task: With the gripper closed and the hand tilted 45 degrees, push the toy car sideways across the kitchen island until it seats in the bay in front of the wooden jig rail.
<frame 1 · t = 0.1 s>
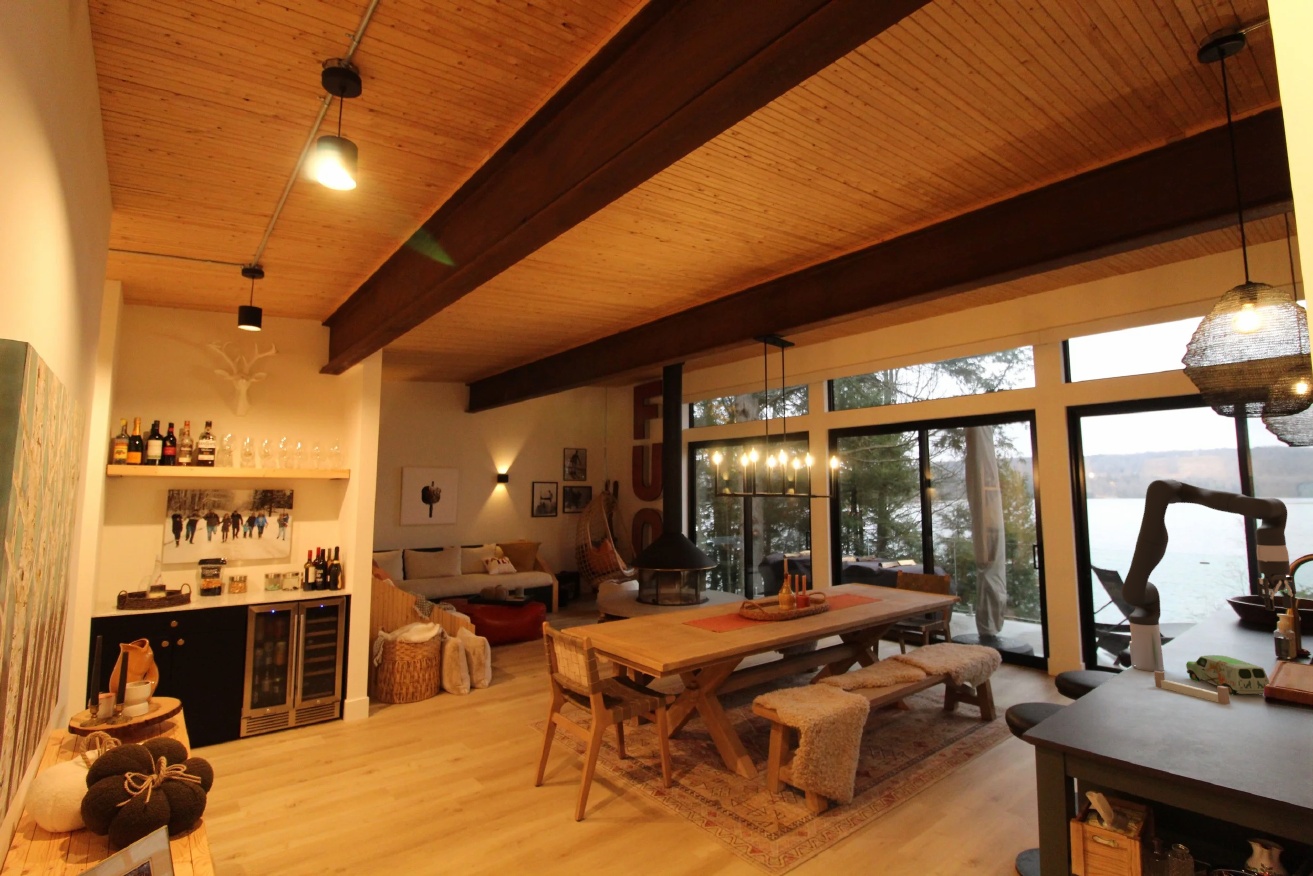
hand: (1279, 609, 209), 29 cm above the kitchen island, tool pointing down, fingers open, 8 cm apart
toy car: (1227, 688, 223), on the kitchen island
jig rail: (1191, 694, 217), on the kitchen island
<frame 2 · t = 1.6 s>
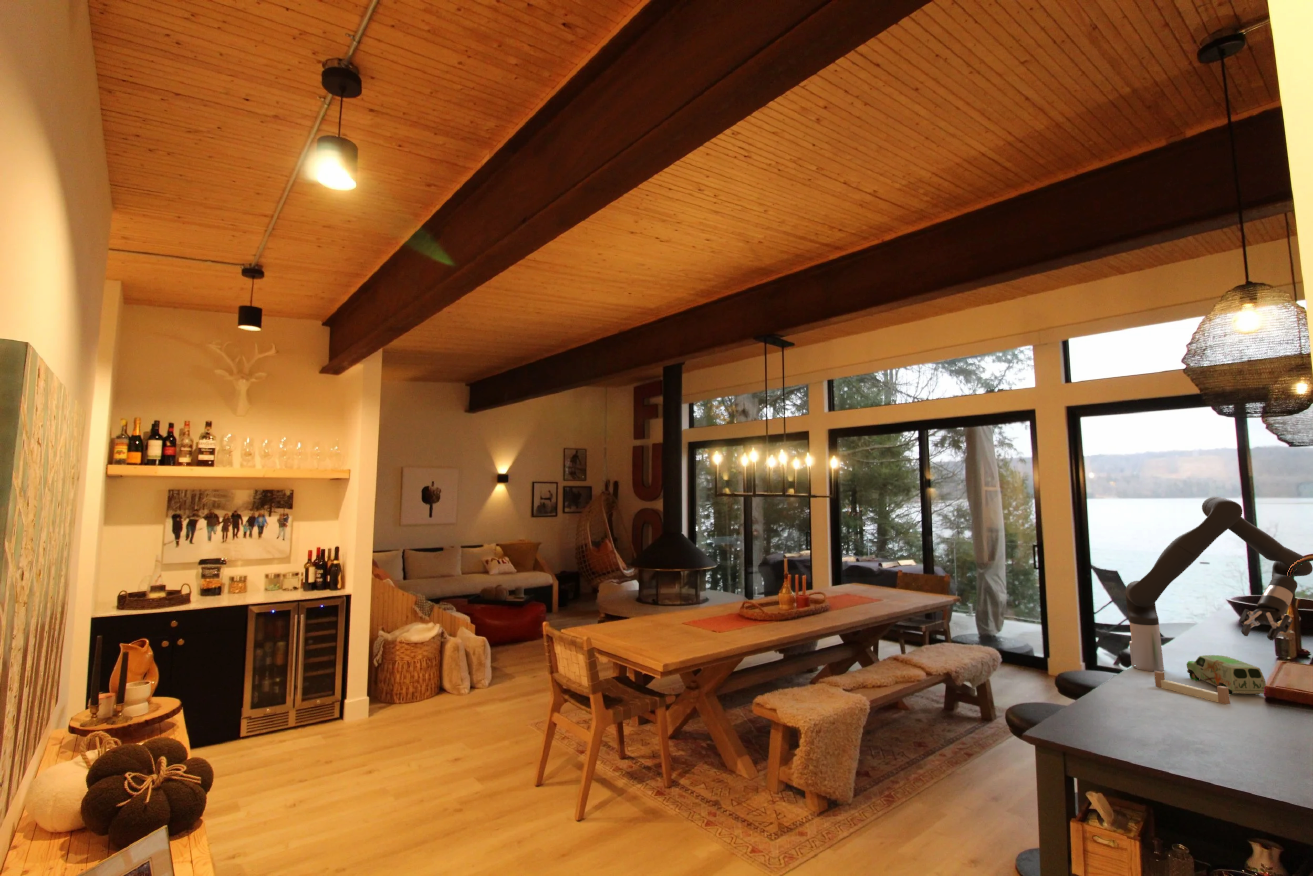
hand: (1256, 636, 229), 16 cm above the kitchen island, tool tilted 45°, fingers open, 7 cm apart
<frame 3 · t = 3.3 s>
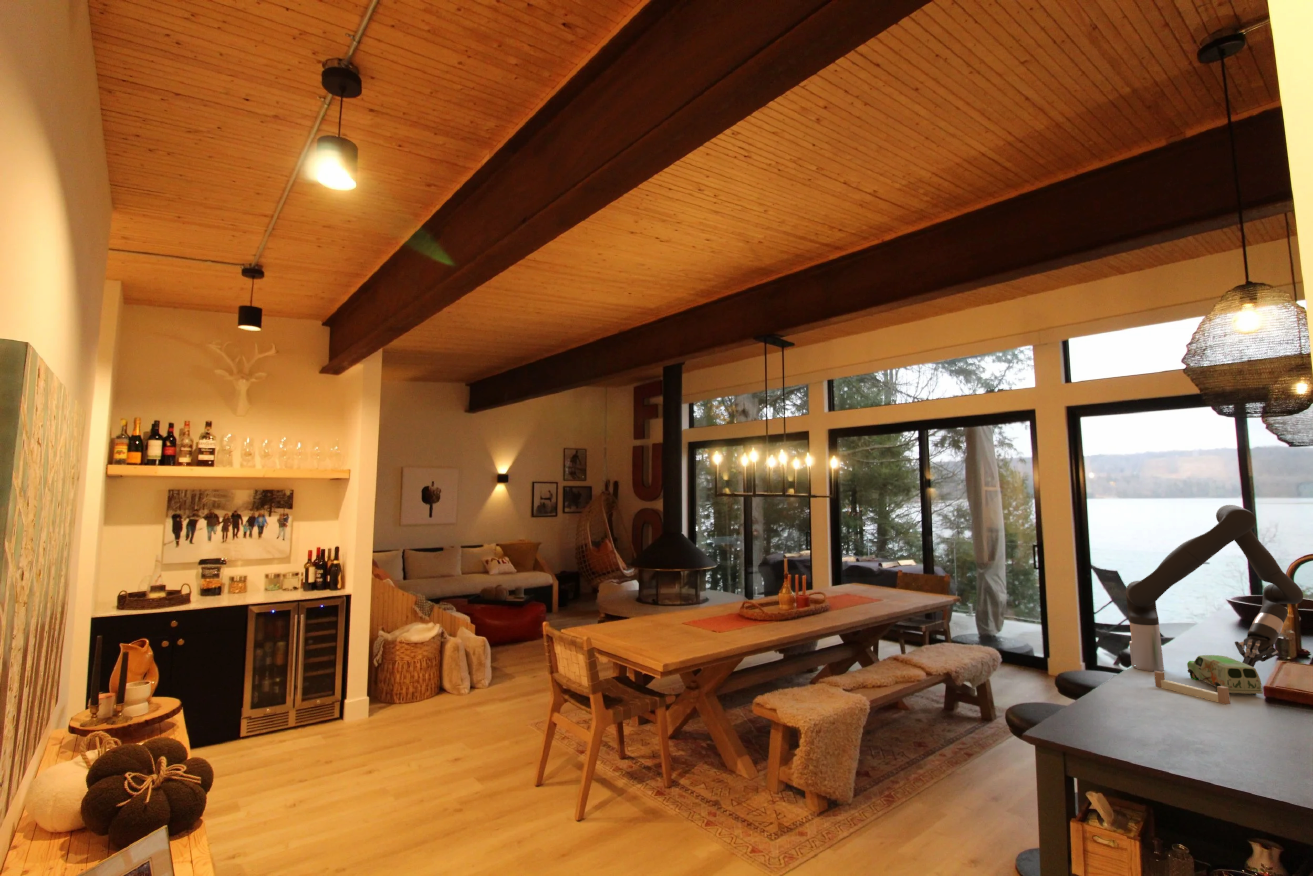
hand: (1246, 667, 227), 6 cm above the kitchen island, tool tilted 45°, fingers closed
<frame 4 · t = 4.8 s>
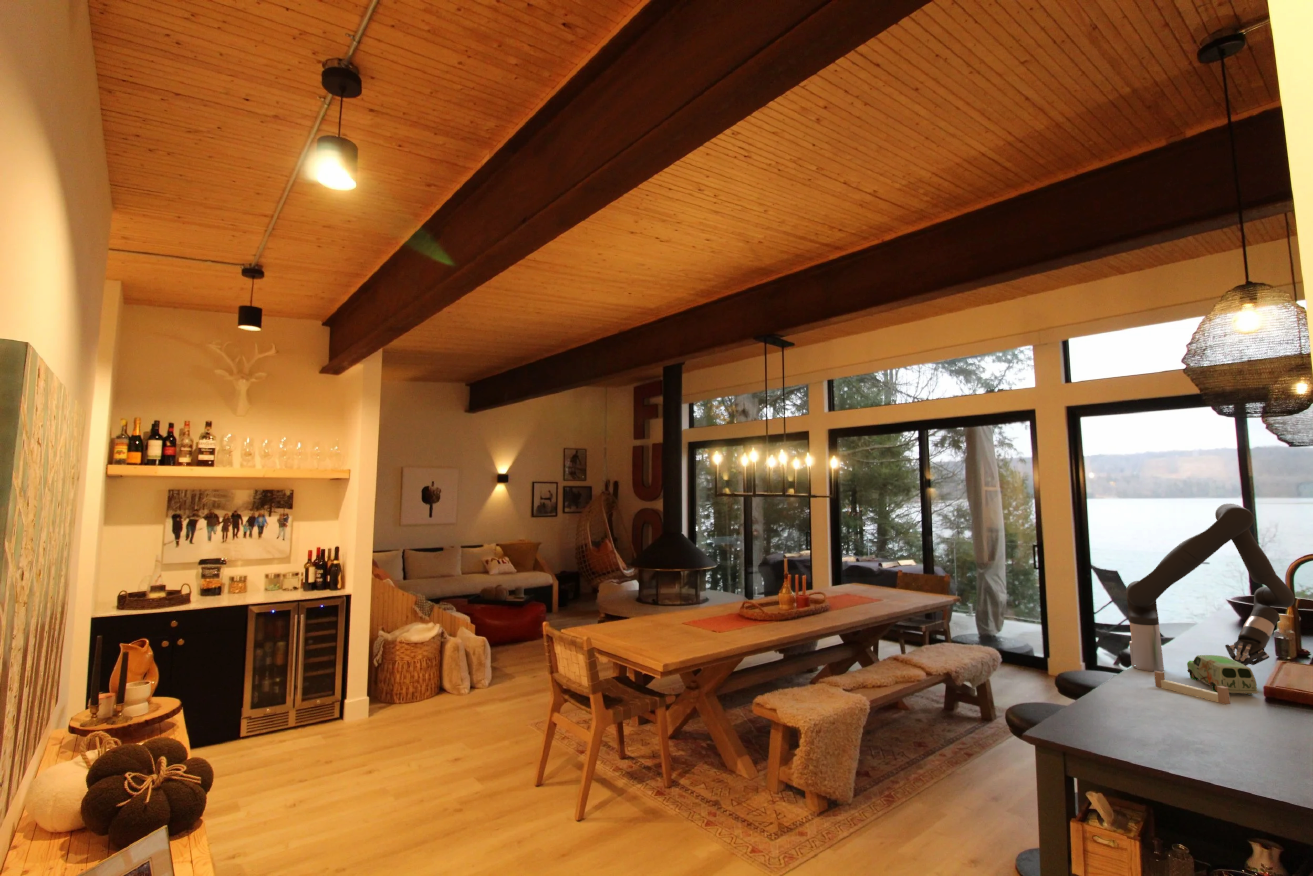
hand: (1236, 671, 225), 5 cm above the kitchen island, tool tilted 45°, fingers closed
toy car: (1221, 688, 224), on the kitchen island, touching gripper
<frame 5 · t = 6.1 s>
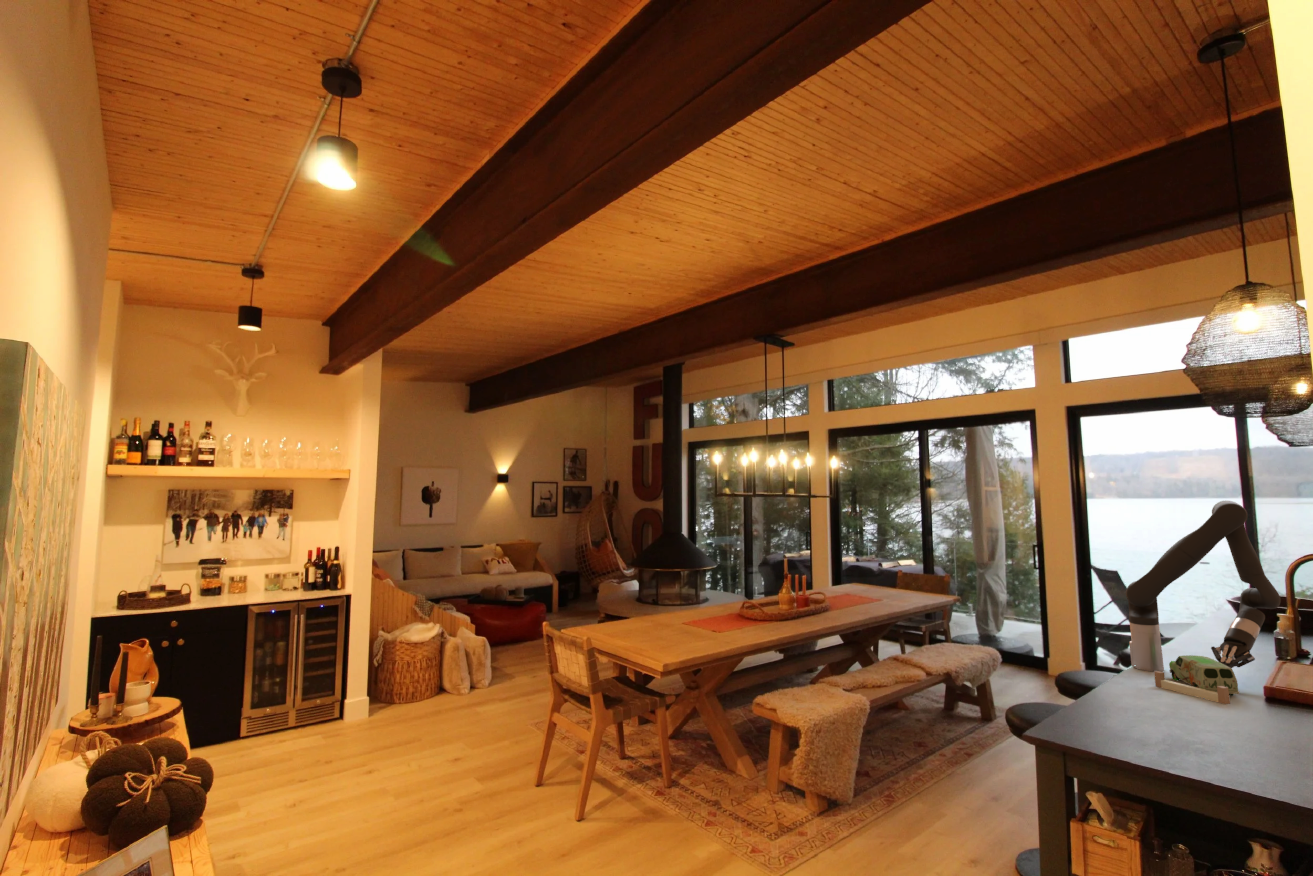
hand: (1222, 673, 223), 5 cm above the kitchen island, tool tilted 45°, fingers closed
toy car: (1203, 688, 224), on the kitchen island, touching gripper
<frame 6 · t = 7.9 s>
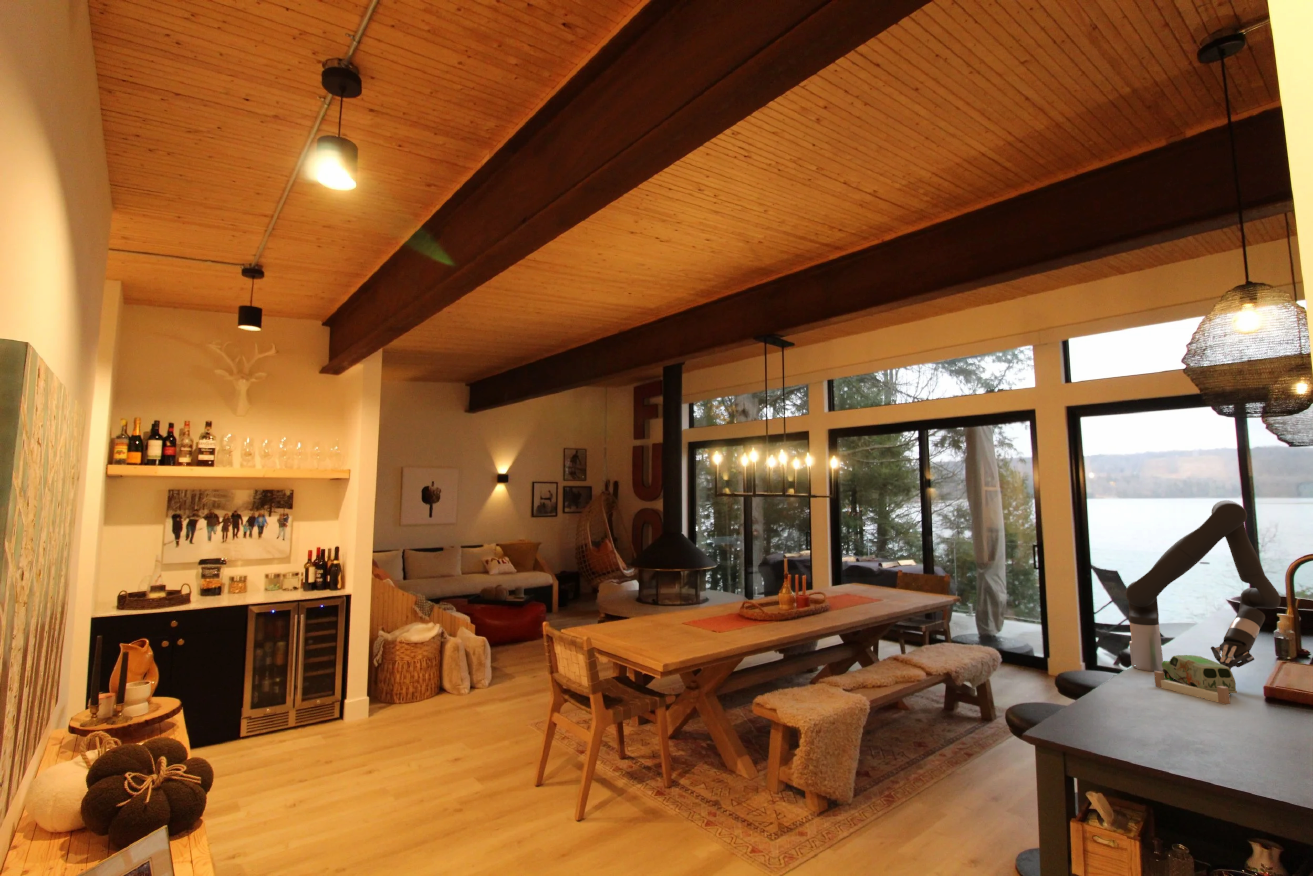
hand: (1221, 673, 223), 5 cm above the kitchen island, tool tilted 45°, fingers closed
toy car: (1198, 687, 225), on the kitchen island
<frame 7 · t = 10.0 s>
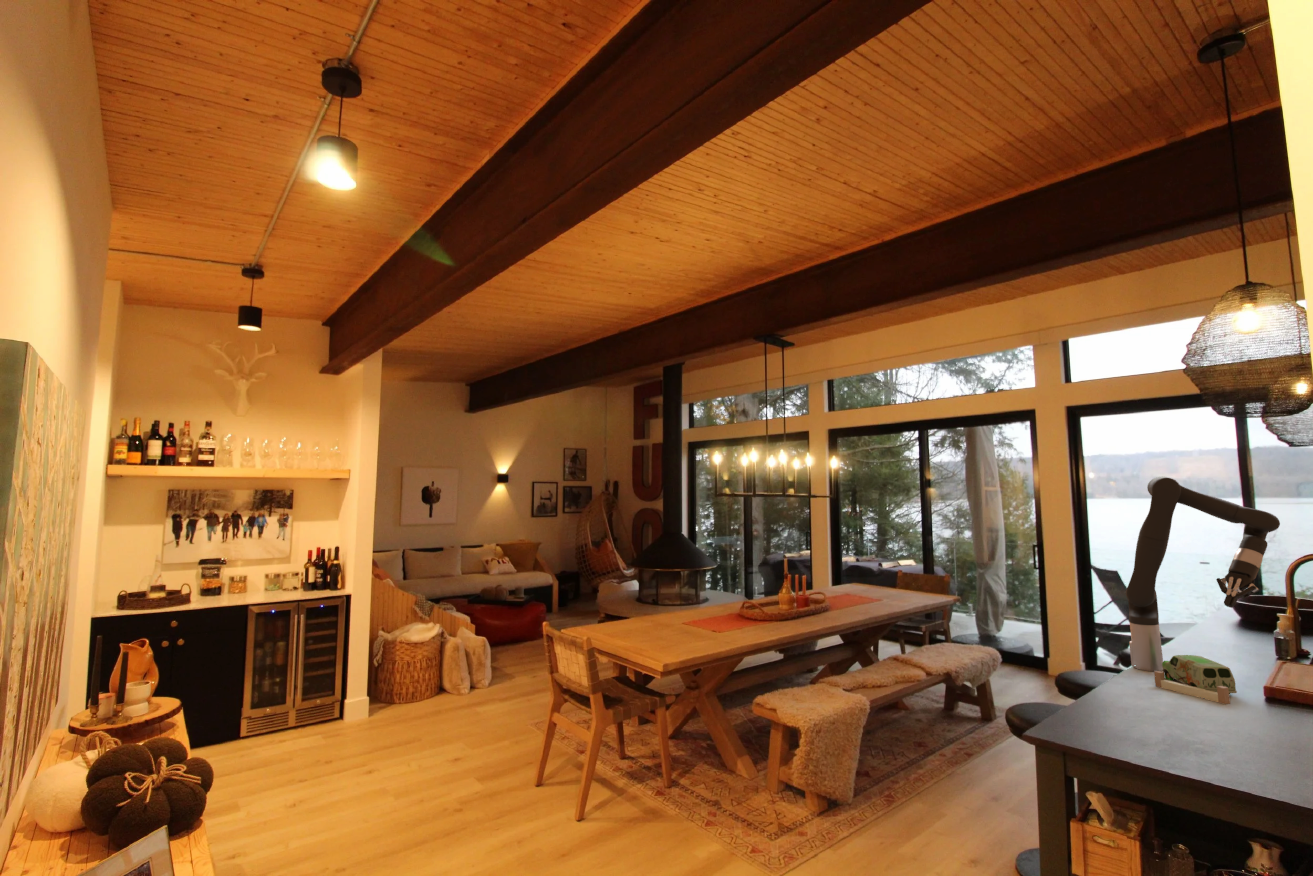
hand: (1228, 606, 232), 26 cm above the kitchen island, tool tilted 30°, fingers closed
nothing on the kitchen island moved.
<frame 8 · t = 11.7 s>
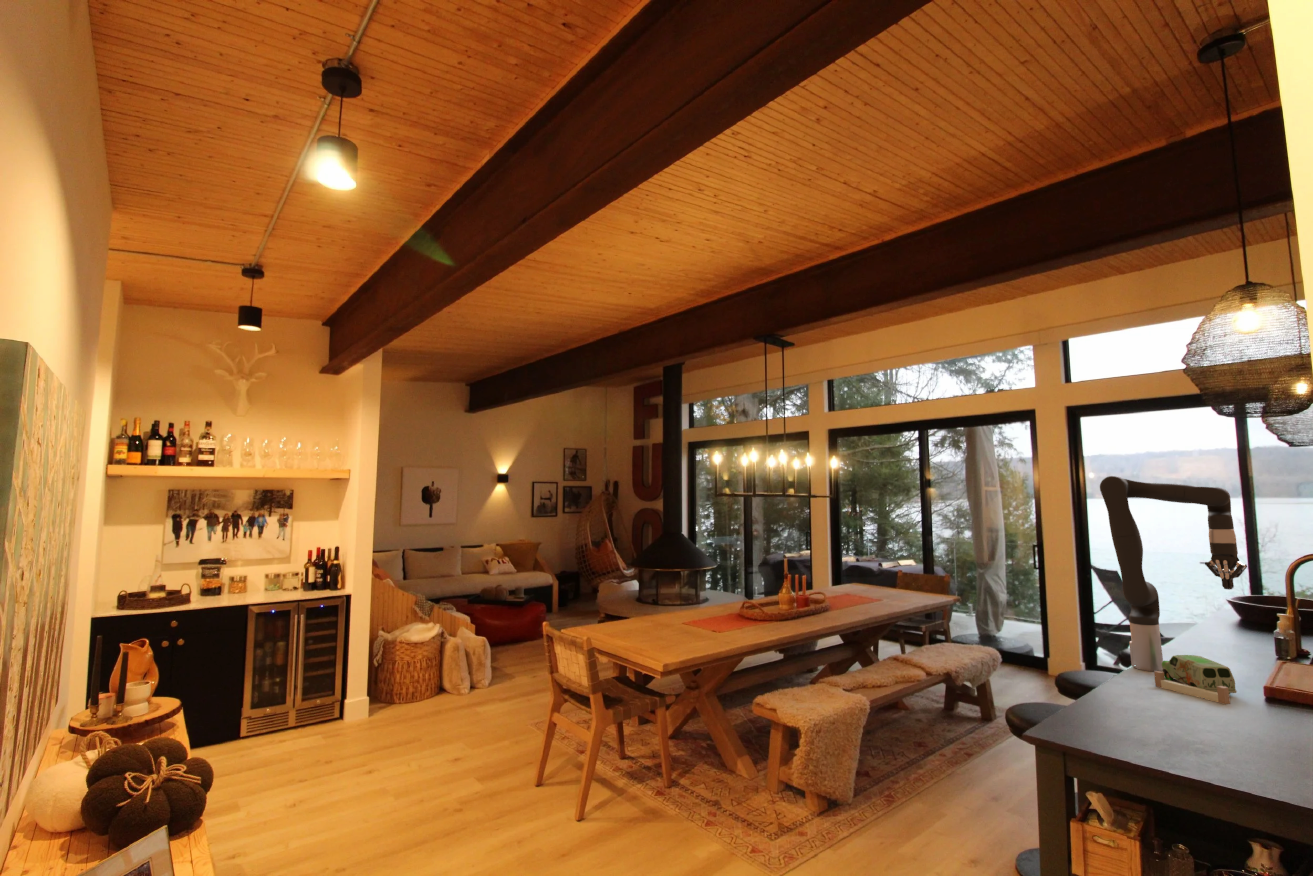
hand: (1228, 589, 235), 32 cm above the kitchen island, tool pointing down, fingers closed
nothing on the kitchen island moved.
at the end: toy car inside the target area (5.0 cm from its centre), on the kitchen island; toy car tilted 0° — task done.
